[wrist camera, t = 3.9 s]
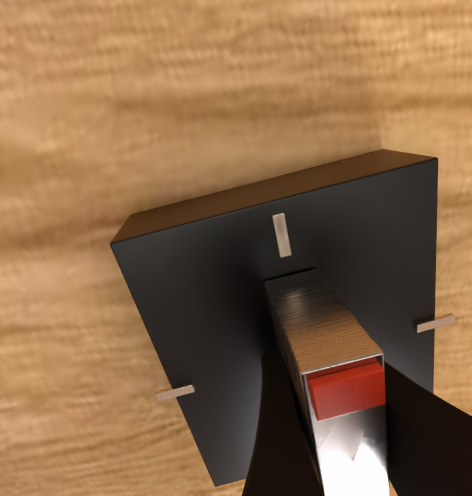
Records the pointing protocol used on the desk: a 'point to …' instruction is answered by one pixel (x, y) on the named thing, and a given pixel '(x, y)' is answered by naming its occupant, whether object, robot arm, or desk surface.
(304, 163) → the desk surface
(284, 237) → the panel
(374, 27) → the desk surface
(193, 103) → the desk surface
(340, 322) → the tap handle
